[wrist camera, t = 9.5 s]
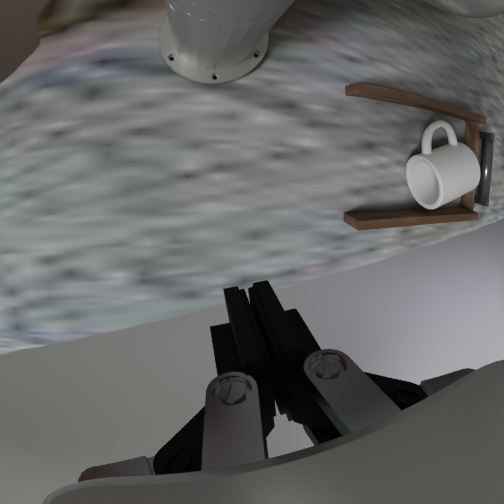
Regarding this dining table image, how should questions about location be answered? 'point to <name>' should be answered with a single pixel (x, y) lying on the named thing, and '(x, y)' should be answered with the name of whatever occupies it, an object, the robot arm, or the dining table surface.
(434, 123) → the mug
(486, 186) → the frame
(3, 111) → the dining table surface
